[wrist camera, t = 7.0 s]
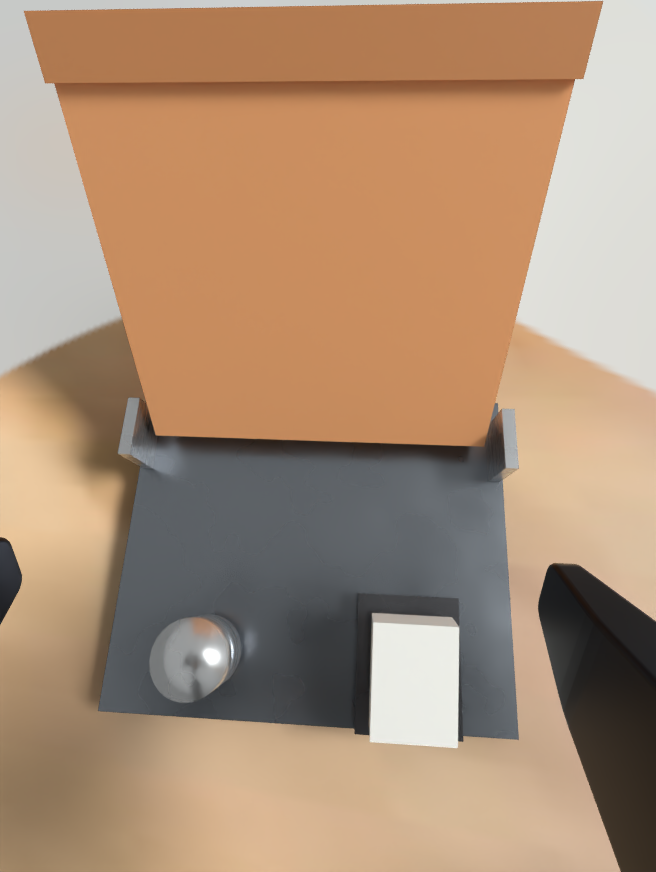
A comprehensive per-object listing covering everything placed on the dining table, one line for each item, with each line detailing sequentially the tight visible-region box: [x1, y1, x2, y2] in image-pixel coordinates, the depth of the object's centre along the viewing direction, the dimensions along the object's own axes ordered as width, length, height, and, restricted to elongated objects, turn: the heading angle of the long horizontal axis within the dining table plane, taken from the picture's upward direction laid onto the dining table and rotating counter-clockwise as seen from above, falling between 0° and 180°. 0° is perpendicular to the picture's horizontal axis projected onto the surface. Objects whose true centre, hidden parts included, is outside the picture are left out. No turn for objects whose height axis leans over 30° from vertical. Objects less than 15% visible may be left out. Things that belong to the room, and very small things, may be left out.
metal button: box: [149, 614, 242, 703], centre depth 14 cm, size 2×2×2 cm
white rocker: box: [369, 613, 459, 748], centre depth 14 cm, size 3×2×1 cm
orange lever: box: [24, 1, 603, 447], centre depth 14 cm, size 2×12×11 cm
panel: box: [98, 398, 519, 742], centre depth 16 cm, size 11×13×3 cm
